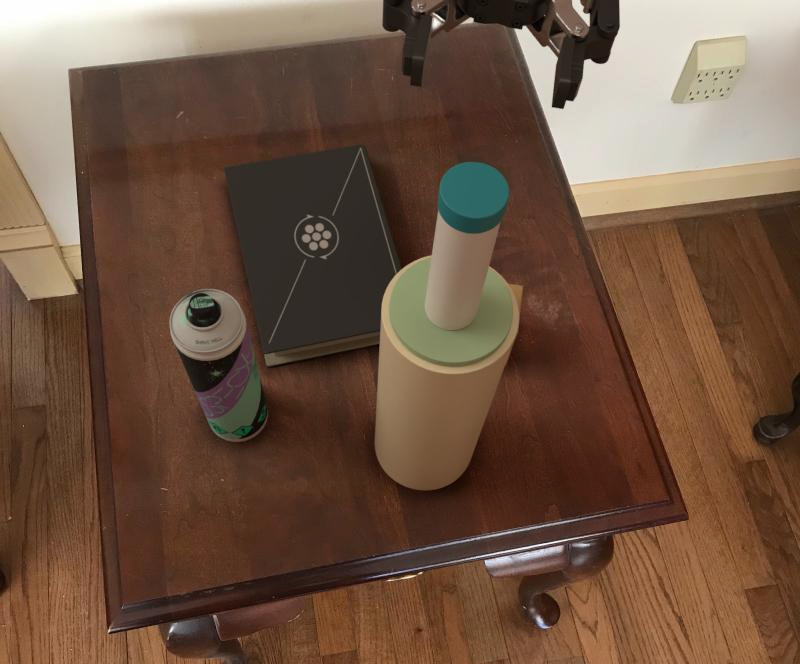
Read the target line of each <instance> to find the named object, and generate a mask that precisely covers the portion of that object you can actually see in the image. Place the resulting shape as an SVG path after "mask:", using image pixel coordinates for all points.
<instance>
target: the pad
mask: <svg viewBox="0 0 800 664" xmlns="http://www.w3.org/2000/svg"><path fill="white" fill-rule="evenodd" d="M430 264H431V257H430V258H426V259H424V260H421V261H419V262H417V263H415V264H414V265H412V266H411V267H410V268H408V269H407V270H406V271H405V272H404V273H403V274H402V275H401V276H400V277H399V279H398V280H397V282H396V283H395V285H394V287H393V290H392V293H391V297H390V305H389V314H390V321H391V325H392V327H393V330H394V332H395V334H396V335H397V337H398V339H399V340H400V341H401V343H402V344H403V345H404V346H405V347H406V348H407V349H408V350H409V351H411V352H412V353H413V354H414V355H416V356H418V357H419V358H421V359H423V360H426V361H428V362H431V363H434V364H437V365H443V366H465V365H470V364H473V363H476V362H479V361H481V360H483V359H485V358H487V357H488V356H490V355H492V354H493V353H494V352H495V351H496V350H497V349H498V348H499V347H500V346H501V345H502V344H503V342H504V341H505V339H506V337H507V335H508V333H509V330H510V327H511V324H512V319H513V304H512V299H511V296H510V293H509V291H508V289H507V287H506V286H505V284H504V282H503V281H502V280H501V279H500V277H499V276H498V275H497V274H496V273H495V272H494V271H492V270H491V269H490V268H488V272H487V276H486V280H485V284H484V288H483V291H482V295H481V299H480V303H479V307H478V311H477V314H476V317H475V319H474V320H473V322H472V323H471V324H469V325H468V326H467V327H465V328H462V329H459V330H445V329H442V328H440V327H438V326H436V325H435V324H433V323H432V322H431V321H430V319H429V318H428V316H427V315H426V312H425V299H426V292H427V285H428V278H429V271H430Z"/></svg>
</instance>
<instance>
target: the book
mask: <svg viewBox="0 0 800 664" xmlns="http://www.w3.org/2000/svg"><path fill="white" fill-rule="evenodd" d="M223 171H224V175H225V181H226V186H227V190H228V194H229V200H230V203H231V209H232V213H233V218H234V223H235V227H236V232H237V236H238V242H239V246H240V251H241V255H242V258H243V259H242V261H243V265H244V269H245V274H246V279H247V284H248V289H249V292H250V297H251V302H252V307H253V311H254V317H255V320H256V325H257V330H258V335H259V340H260V343H261V348H262V354H263V358H264V362H265V366H266V368H273V367H278V366H283V365H287V364H292V363H297V362H302V361H306V360H312V359H317V358H322V357H327V356H331V355H336V354H342V353H346V352H351V351H355V350H360V349H366V348H370V347H376V346H380V329H381V310H382V301H383V297H384V294H385V291H386V289H387V287H388V285H389V283H390V282H391V280H392V279H393V278H394V276H395V275H396V274H397V273H398V272H399V271H400V270H402V269H403V266H402V262H401V259H400V256H399V252H398V250H397V246H396V243H395V240H394V236H393V233H392V230H391V227H390V223H389V220H388V216H387V213H386V210H385V207H384V203H383V199H382V197H381V193H380V189H379V186H378V183H377V180H376V177H375V173H374V170H373V166H372V163H371V159H370V157H369V153H368V150H367V147H366V145H365V144H364V143H363V144H361V143H360V144H354V145H348V146H342V147H336V148H330V149H323V150H319V151H312V152H307V153H306V152H305V153H300V154H295V155H289V156H283V157H277V158H271V159H265V160H259V161H252V162H247V163H242V164H235V165H230V166H225V167H224V168H223Z"/></svg>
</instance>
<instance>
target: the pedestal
mask: <svg viewBox="0 0 800 664" xmlns="http://www.w3.org/2000/svg"><path fill="white" fill-rule="evenodd" d="M430 257H432V254H430V255H427V256H423V257H421V258H419V259H416V260H414V261H412V262H410V263H408V264H407V265H405V266H404V267H402V270H400V271H399V272H398V273H397V274H396V275H395V276H394V278H393V279H392V280H391V282H390V283H389V285H388V287H387V289H386V291H385V294H384V297H383V301H382V310H381V329H380V345H379V350H378V351H379V352H378V370H377V387H376V388H377V389H376V405H375V408H376V409H375V428H374V450H375V455H376V458H377V461H378V463H379V465H380V467H381V468H382V470H383V471H384V472H385V473H386V475H387V476H388V477H389V478H391V479H392V480H393V481H394V482H396V483H397V484H399V485H401V486H404V487H406V488H408V489H411V490H417V491H433V490H439V489H442V488H445V487H447V486H449V485H451V484H452V483H455V481H457V480H458V479H459V478H461V476H462V475H463V474H464V473H465V471H466V470H467V468H468V467H469V465H470V463H471V461H472V457H473V455H474V452H475V449H476V446H477V443H478V441H479V438H480V435H481V433H482V429H483V427H484V424H485V422H486V419H487V416H488V414H489V410H490V407H491V405H492V403H493V400H494V397H495V394H496V391H497V389H498V387H499V383H500V381H501V378H502V376H503V372H504V370H505V367H506V365H507V364H506V361H507V359H508V356H509V353H510V351H511V348H512V345H513V342H514V340H515V337H516V334H517V330H518V331H519V329H518V325H519V326H520V320H519V309H518V304H517V301H516V298H515V295H514V293H513V291H512V289H511V288H510V286H509V285H508V284H509V283H508V282H507V281H506V279H505V278H504V277H503V276H502V274H500V273H499V272H498V271H497V270H495V269H494V268H492V267H491V266H490V265H489V268H490V269H491V270H492V271H494V272H495V273H496V274H497V275H498V276H499V277H500V279H501V280H502V281H503V282H504V284H505V286H506V287H507V289H508V291H509V293H510V296H511V299H512V304H513V319H512V324H511V327H510V330H509V333H508V335H507V337H506V339H505V341H504V342H503V344H502V345H501V346H500V347H499V348H498V349H497V350H496V351H495V352H494V353H493V354H492V355H490V356H488V357H487V358H485V359H483V360H481V361H479V362H476V363H473V364H470V365H465V366H443V365H437V364H434V363H431V362H428V361H426V360H423V359H421V358H419V357H418V356H416V355H414V354H413V353H412V352H411V351H409V350H408V349H407V348H406V347H405V346H404V345H403V344H402V343H401V341H400V340H399V339H398V337H397V335H396V334H395V332H394V330H393V327H392V325H391V321H390V314H389V305H390V297H391V293H392V290H393V287H394V285H395V283H396V282H397V280H398V279H399V277H400V276H401V275H402V274H403V273H404V272H405V271H406V270H407V269H408V268H410V267H411V266H412V265H414V264H415V263H417V262H419V261H421V260H424V259H426V258H430ZM517 335H518V334H517ZM516 338H517V337H516ZM515 341H516V340H515ZM513 346H514V345H513ZM512 349H513V348H512ZM511 352H512V351H511ZM510 354H511V353H510ZM509 357H510V356H509ZM508 360H509V359H508ZM505 364H506V365H505Z"/></svg>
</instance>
